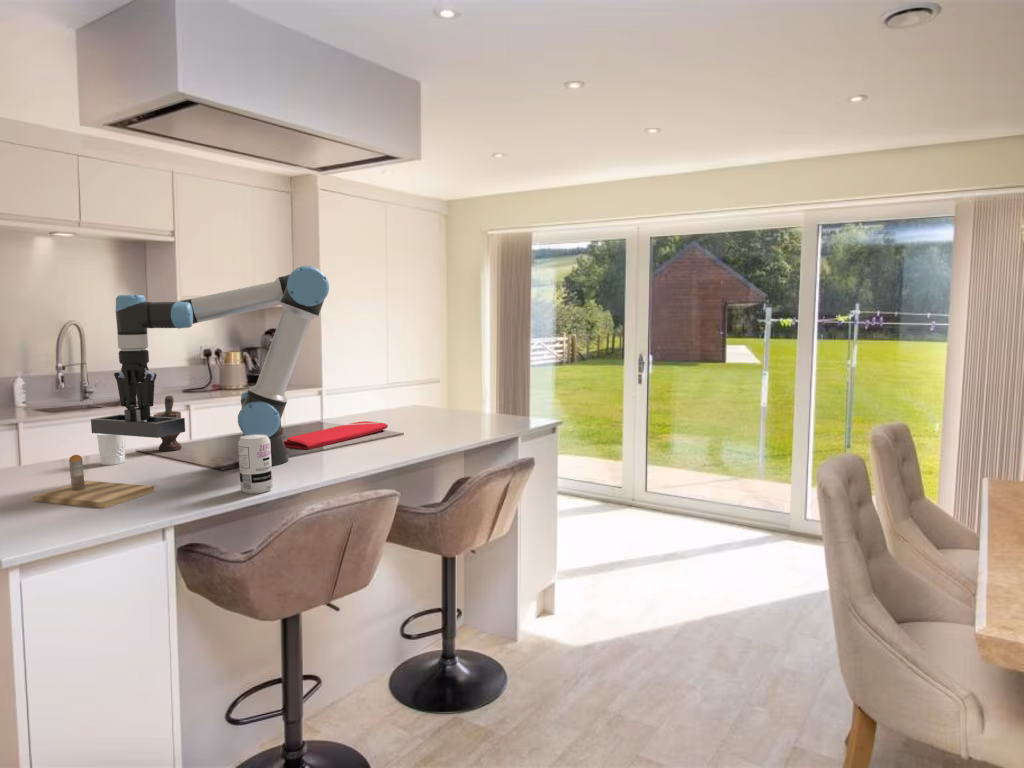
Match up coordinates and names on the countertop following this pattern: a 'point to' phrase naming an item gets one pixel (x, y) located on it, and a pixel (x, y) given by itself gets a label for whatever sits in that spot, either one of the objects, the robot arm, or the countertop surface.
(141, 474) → the countertop surface
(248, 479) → the supplement can
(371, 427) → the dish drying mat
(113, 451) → the white cup
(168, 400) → the mortar and pestle
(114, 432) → the dark grey tray
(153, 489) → the board
